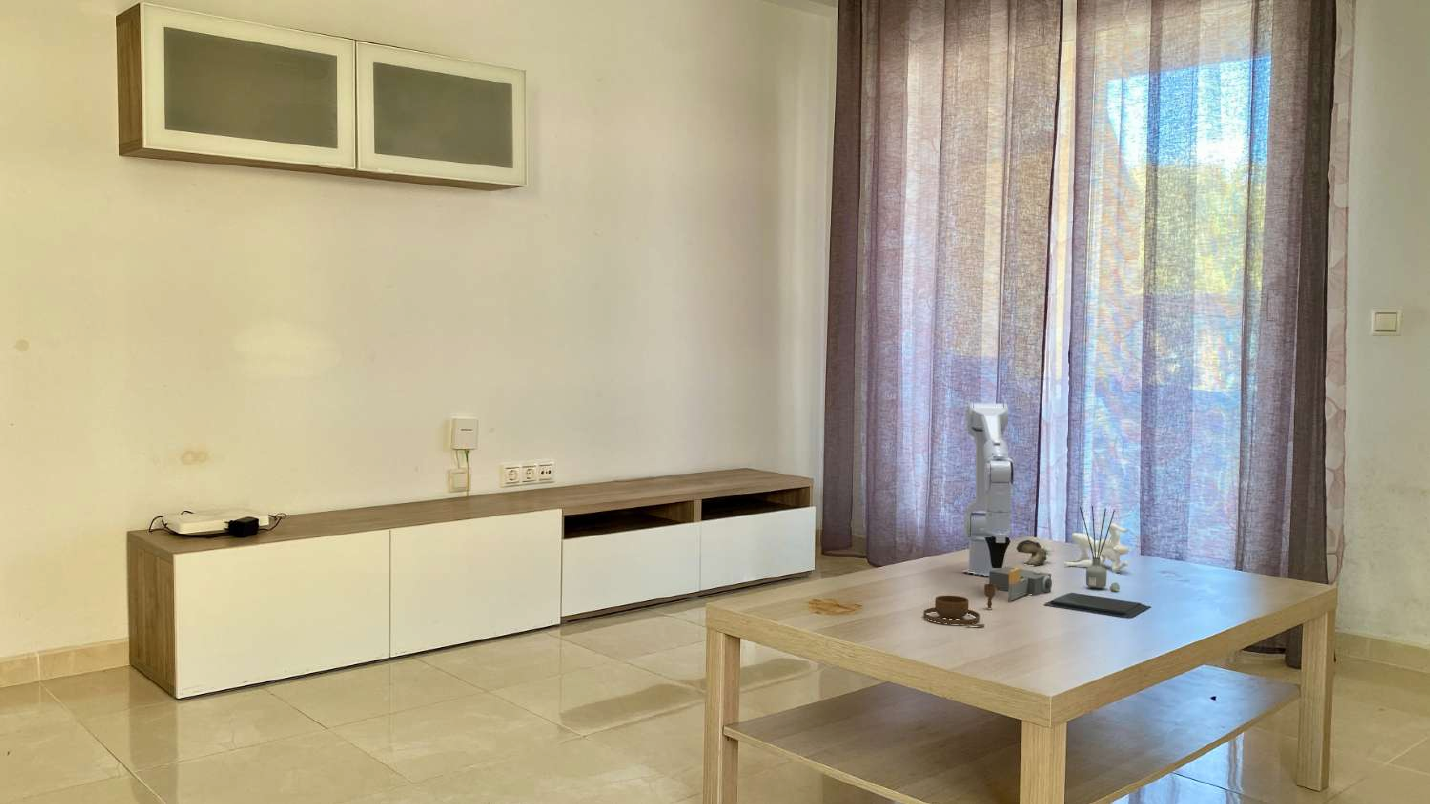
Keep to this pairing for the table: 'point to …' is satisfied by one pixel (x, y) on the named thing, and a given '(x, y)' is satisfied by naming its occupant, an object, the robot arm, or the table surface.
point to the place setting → (958, 608)
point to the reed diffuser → (1098, 563)
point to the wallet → (1098, 605)
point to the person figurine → (1110, 549)
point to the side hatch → (1017, 584)
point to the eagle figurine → (1034, 551)
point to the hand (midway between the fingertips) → (996, 567)
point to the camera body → (1035, 578)
